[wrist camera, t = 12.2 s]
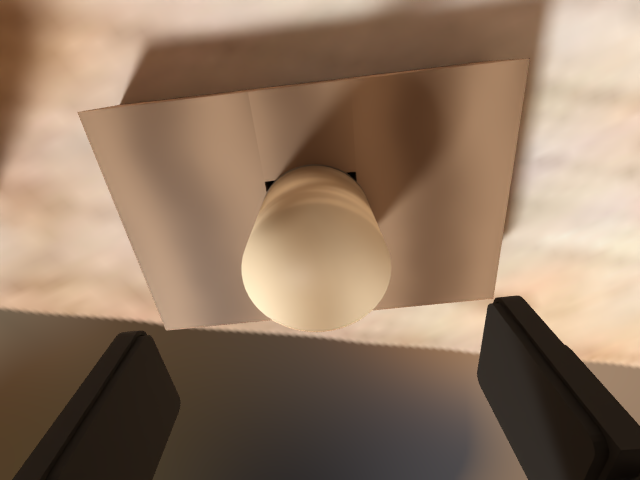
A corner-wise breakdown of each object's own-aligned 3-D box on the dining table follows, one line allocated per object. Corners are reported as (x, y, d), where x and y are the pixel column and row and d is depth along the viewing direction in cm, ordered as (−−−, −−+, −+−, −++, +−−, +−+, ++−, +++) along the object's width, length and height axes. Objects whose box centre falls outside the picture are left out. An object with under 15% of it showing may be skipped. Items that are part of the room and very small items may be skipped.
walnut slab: (490, 60, 19) (529, 58, 16) (468, 266, 26) (493, 298, 22) (119, 105, 20) (77, 112, 17) (185, 295, 26) (165, 330, 23)
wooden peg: (359, 145, 21) (391, 195, 12) (363, 234, 24) (392, 325, 15) (260, 156, 21) (225, 212, 13) (276, 243, 24) (256, 338, 15)
